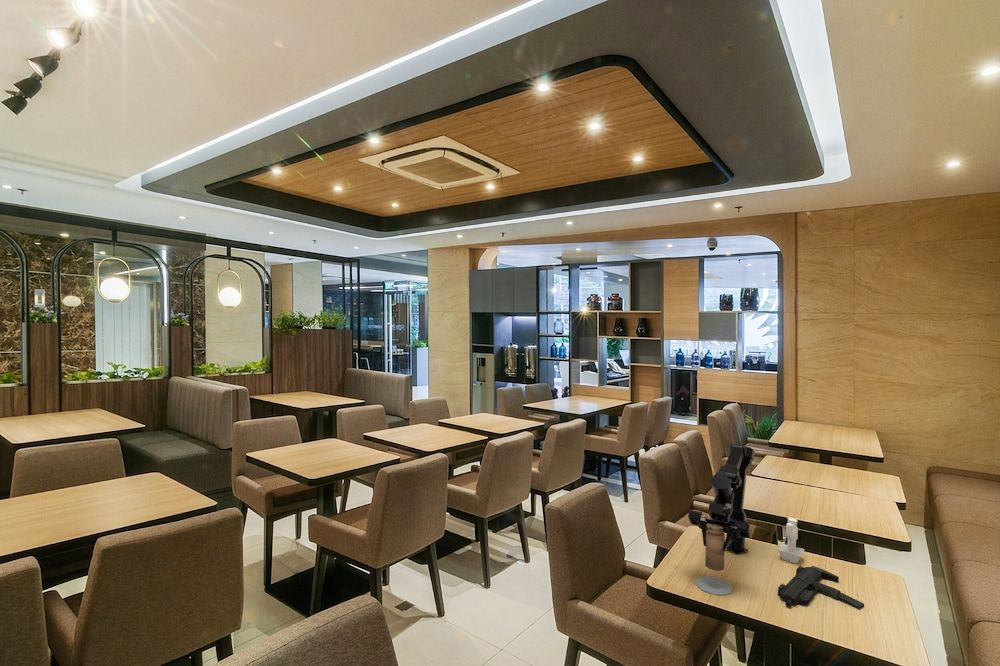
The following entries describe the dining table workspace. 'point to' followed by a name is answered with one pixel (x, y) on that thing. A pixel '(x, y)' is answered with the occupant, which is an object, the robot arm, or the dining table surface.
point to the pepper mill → (715, 548)
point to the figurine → (791, 543)
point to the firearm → (812, 588)
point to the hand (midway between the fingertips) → (714, 548)
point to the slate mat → (713, 585)
